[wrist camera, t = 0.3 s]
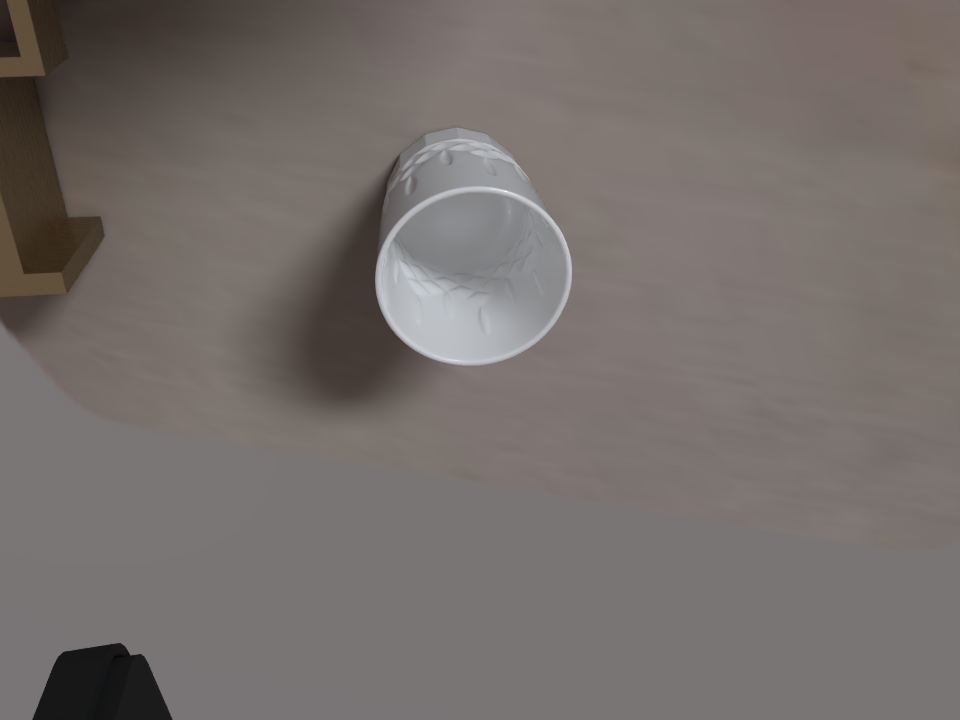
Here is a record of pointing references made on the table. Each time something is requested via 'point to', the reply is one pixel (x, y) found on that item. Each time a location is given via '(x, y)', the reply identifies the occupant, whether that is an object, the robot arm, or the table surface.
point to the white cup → (468, 252)
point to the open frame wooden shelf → (35, 166)
